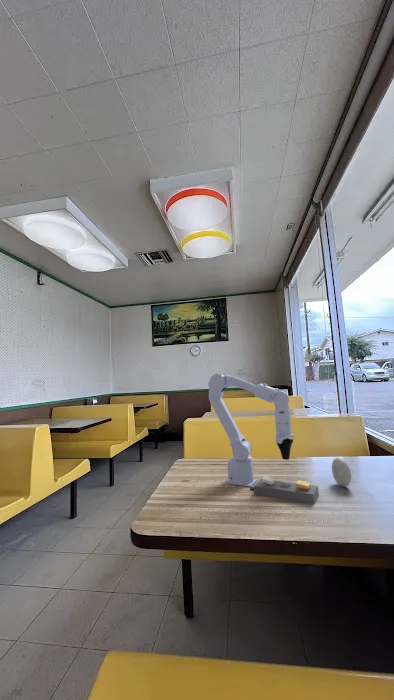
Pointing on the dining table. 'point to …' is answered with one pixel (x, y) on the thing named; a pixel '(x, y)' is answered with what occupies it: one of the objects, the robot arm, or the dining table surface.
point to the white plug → (268, 480)
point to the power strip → (286, 491)
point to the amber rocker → (302, 484)
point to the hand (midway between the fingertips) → (286, 459)
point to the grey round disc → (341, 472)
